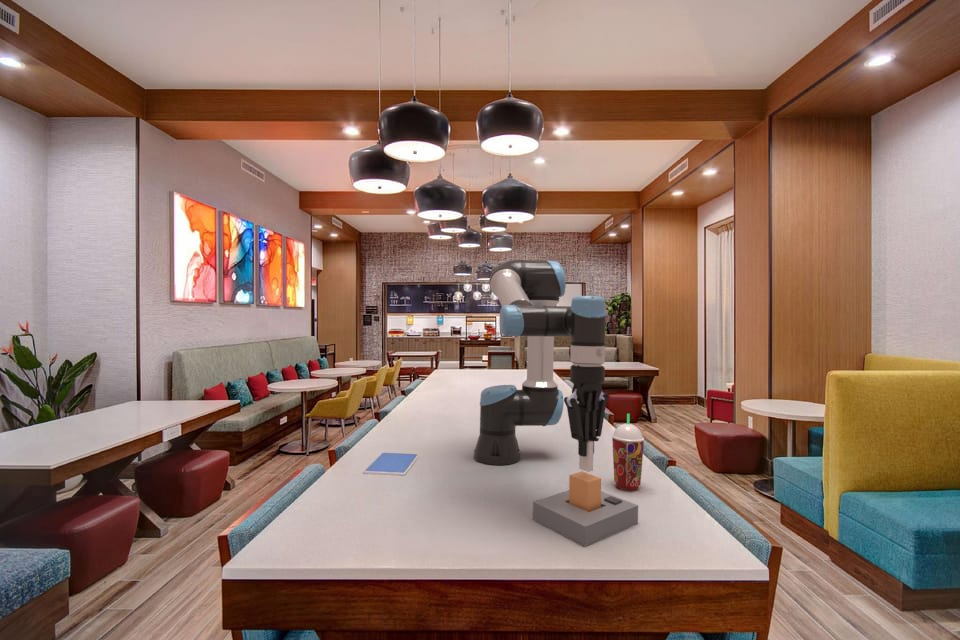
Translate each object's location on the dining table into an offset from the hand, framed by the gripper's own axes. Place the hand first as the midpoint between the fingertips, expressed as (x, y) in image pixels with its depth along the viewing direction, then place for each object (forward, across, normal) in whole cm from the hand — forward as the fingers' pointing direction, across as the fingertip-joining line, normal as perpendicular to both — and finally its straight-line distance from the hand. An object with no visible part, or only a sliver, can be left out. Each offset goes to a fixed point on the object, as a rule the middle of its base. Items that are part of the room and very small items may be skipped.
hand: (586, 469), depth 101 cm
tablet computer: (+12, -18, +61) cm, 64 cm away
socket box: (+12, 0, 0) cm, 12 cm away
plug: (+12, 0, 0) cm, 12 cm away
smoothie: (+12, +26, +7) cm, 30 cm away
